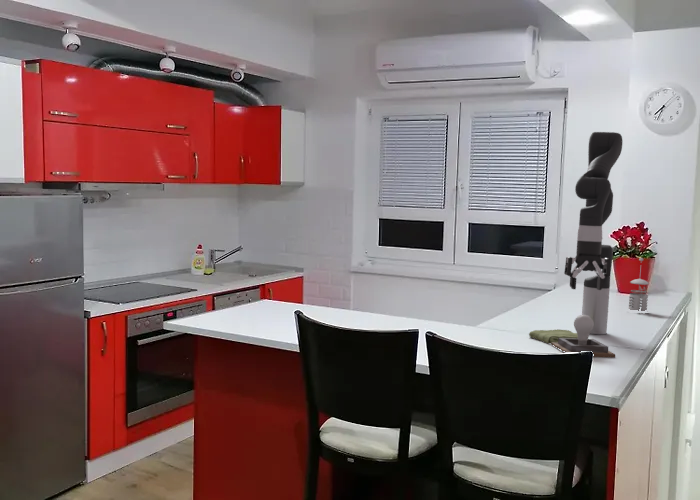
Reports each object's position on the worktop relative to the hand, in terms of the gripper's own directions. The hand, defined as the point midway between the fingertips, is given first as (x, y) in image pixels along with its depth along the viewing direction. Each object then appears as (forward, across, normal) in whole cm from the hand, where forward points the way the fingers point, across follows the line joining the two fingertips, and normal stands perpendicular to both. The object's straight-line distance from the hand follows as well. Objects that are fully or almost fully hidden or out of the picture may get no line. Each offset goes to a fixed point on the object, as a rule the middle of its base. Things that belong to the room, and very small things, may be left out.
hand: (586, 289), depth 225 cm
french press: (+22, -61, -87) cm, 108 cm away
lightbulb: (+20, 0, 0) cm, 20 cm away
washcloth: (+21, +1, -18) cm, 28 cm away
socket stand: (+20, 0, 0) cm, 20 cm away
